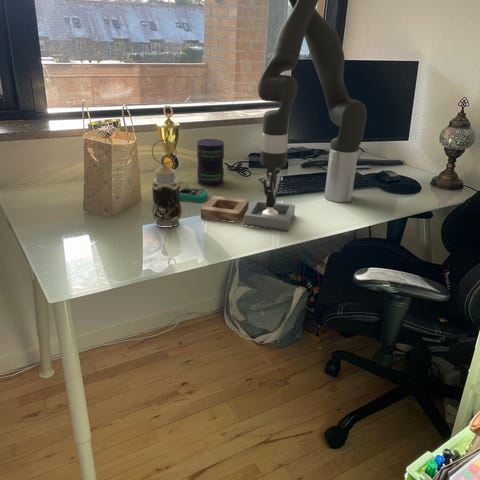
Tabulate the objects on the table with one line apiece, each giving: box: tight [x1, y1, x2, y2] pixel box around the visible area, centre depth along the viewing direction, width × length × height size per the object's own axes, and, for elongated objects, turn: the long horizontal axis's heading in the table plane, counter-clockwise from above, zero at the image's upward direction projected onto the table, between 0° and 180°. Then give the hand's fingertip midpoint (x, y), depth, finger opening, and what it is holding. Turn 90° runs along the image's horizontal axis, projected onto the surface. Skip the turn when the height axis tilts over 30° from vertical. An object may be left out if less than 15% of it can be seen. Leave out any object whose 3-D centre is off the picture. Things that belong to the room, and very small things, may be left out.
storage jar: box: [196, 138, 225, 187], centre depth 168 cm, size 10×10×15 cm
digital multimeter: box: [179, 187, 208, 204], centre depth 156 cm, size 7×15×3 cm, turn 78°
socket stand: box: [200, 195, 250, 223], centre depth 144 cm, size 12×12×3 cm
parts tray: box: [243, 199, 296, 233], centre depth 139 cm, size 13×13×4 cm
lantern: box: [151, 139, 183, 226], centre depth 131 cm, size 9×8×25 cm
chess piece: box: [262, 191, 278, 217], centre depth 137 cm, size 5×5×10 cm
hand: (270, 205), depth 138 cm, fingers closed on chess piece
